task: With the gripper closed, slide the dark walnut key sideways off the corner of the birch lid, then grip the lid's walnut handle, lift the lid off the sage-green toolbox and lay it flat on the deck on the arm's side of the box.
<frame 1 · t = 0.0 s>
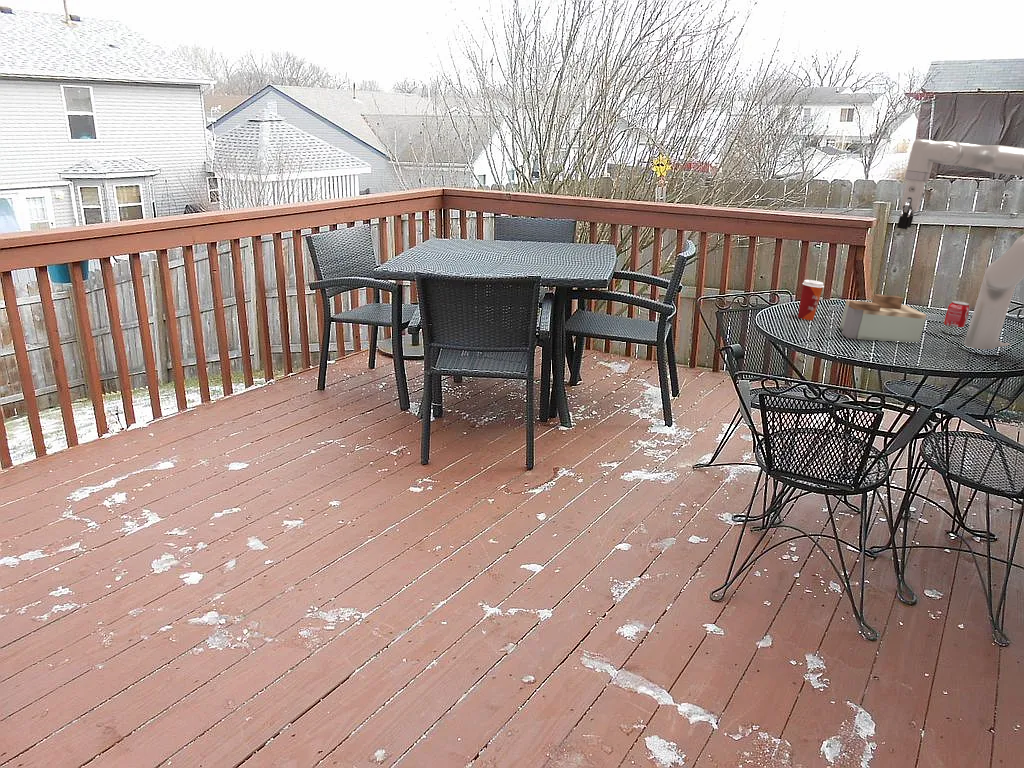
hand: (903, 227, 269), 37 cm above the table, tool pointing down, fingers open, 9 cm apart
toolbox: (878, 336, 273), on the table
soda can: (951, 334, 287), on the table
lid: (884, 311, 270), point 9 cm above the table, touching toolbox
paper cup: (805, 318, 289), on the table
key: (864, 306, 262), point 12 cm above the table, slide at 0.0 cm
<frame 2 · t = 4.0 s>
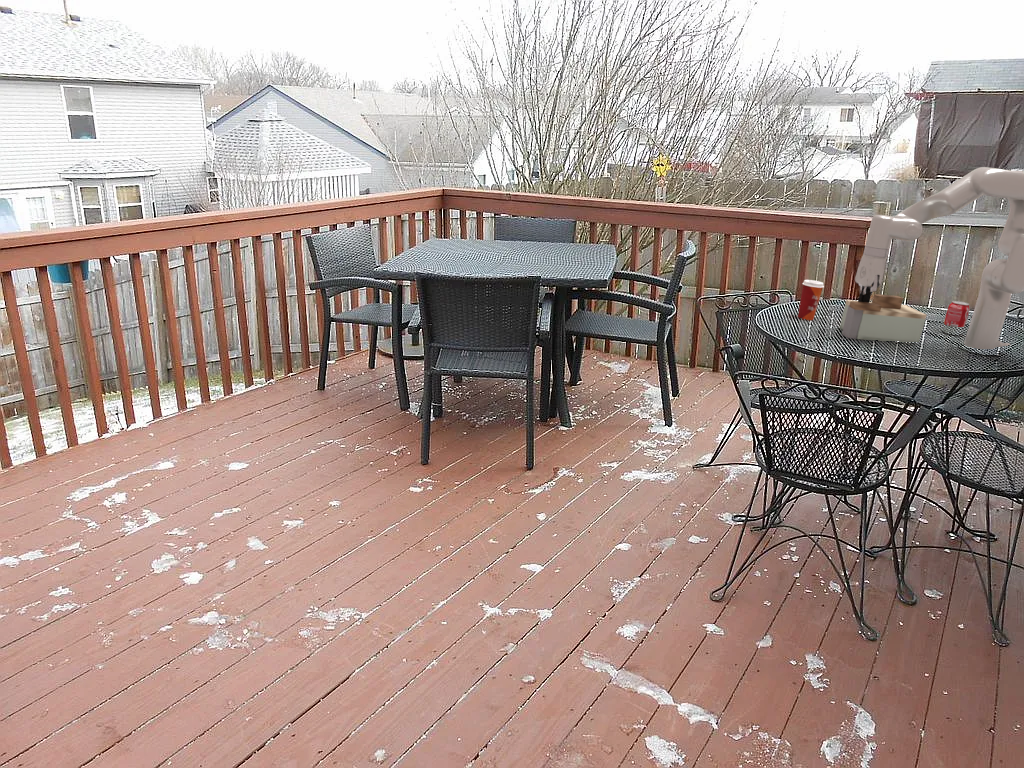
hand: (862, 305, 265), 11 cm above the table, tool pointing down, fingers closed
key: (865, 306, 262), point 12 cm above the table, slide at 0.5 cm, touching gripper
everything else where it was.
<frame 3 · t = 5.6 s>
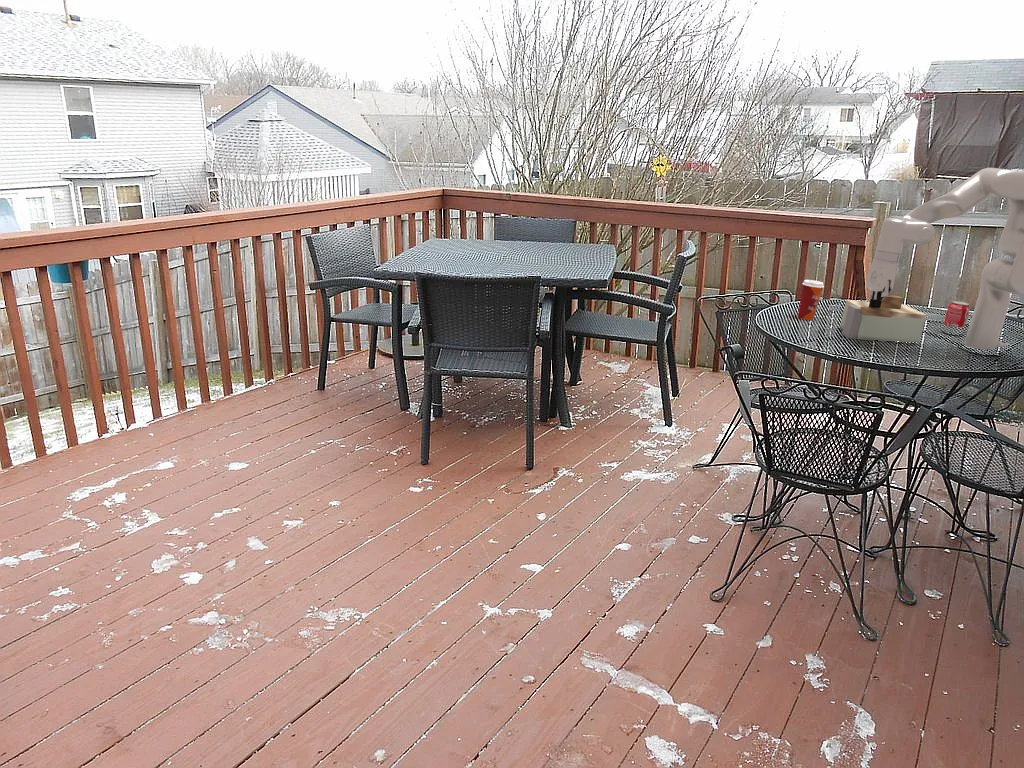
hand: (873, 311, 258), 11 cm above the table, tool pointing down, fingers closed
key: (876, 311, 254), point 12 cm above the table, slide at 8.2 cm, touching gripper
everything else where it was.
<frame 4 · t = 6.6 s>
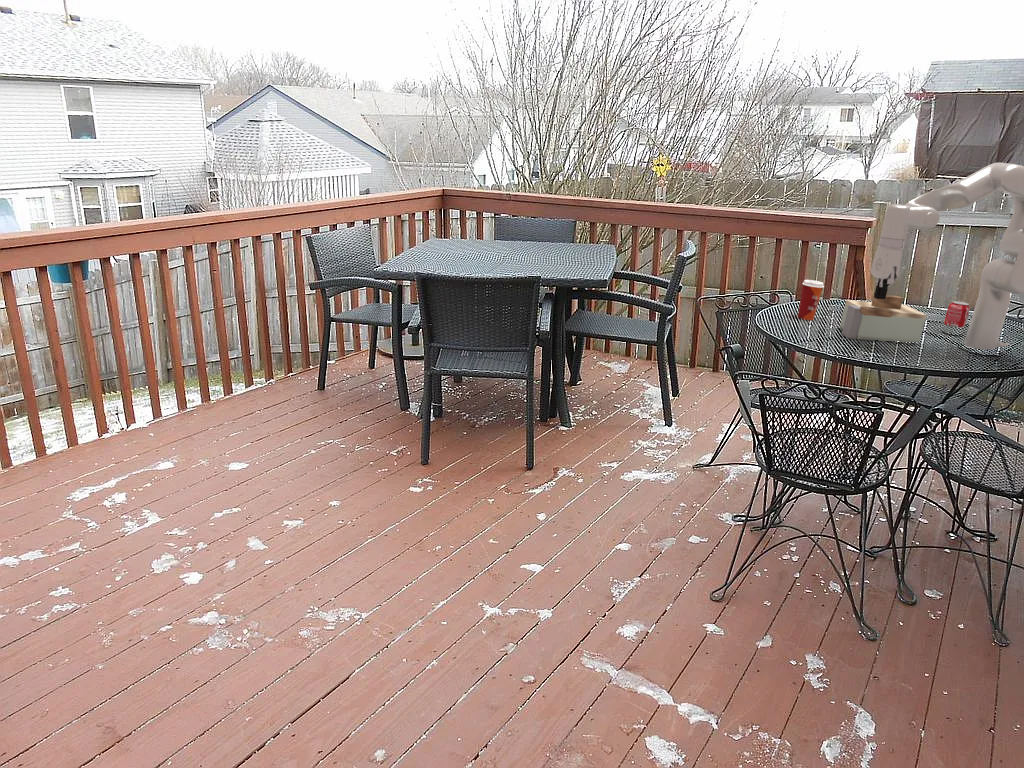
hand: (879, 298, 256), 16 cm above the table, tool pointing down, fingers closed
key: (875, 311, 255), point 12 cm above the table, slide at 8.1 cm
everything else where it was.
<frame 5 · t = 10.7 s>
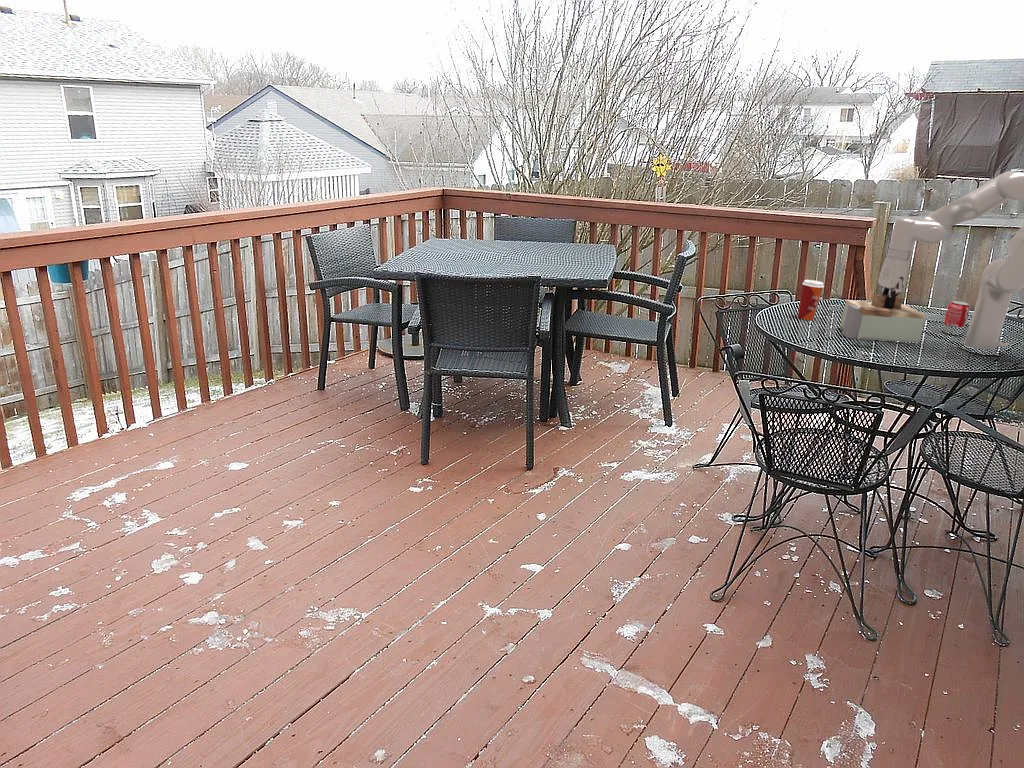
hand: (885, 306, 269), 11 cm above the table, tool pointing down, fingers closed on lid, 3 cm apart
lid: (884, 311, 270), point 9 cm above the table, touching gripper, toolbox
everything else where it was.
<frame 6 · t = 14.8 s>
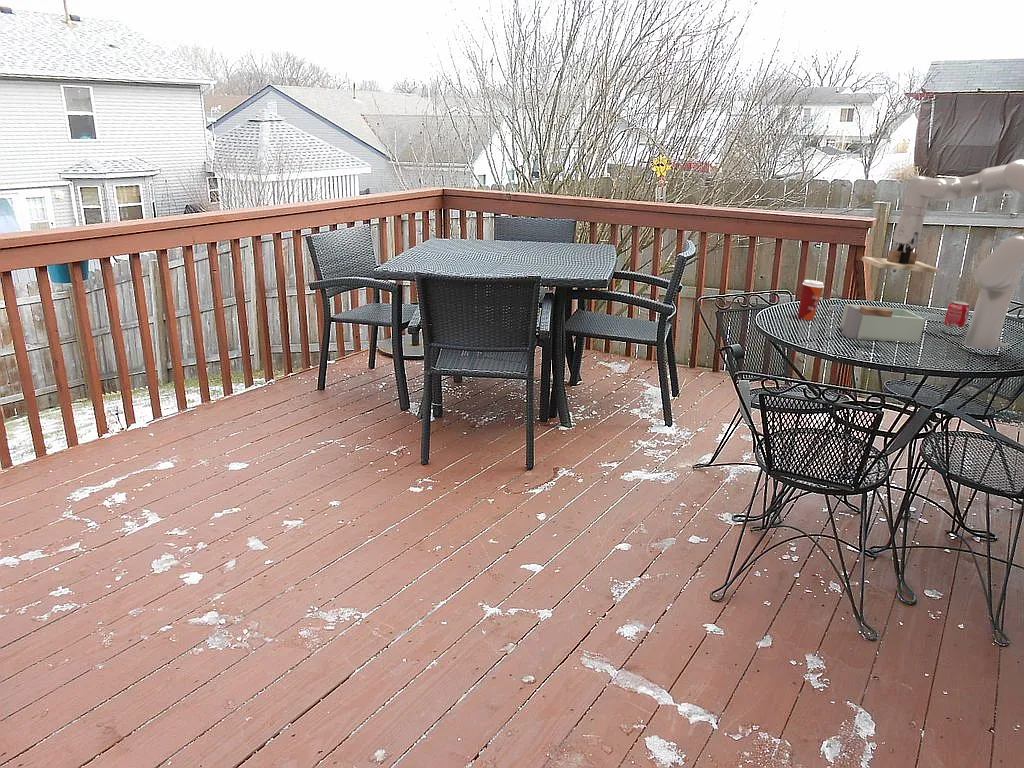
hand: (900, 262, 282), 24 cm above the table, tool pointing down, fingers closed on lid, 3 cm apart
lid: (899, 266, 283), point 22 cm above the table, touching gripper
everything else where it was.
when the fingers open (3 cm above the table, at t = 18.7 s): lid drops 2 cm, on the table.
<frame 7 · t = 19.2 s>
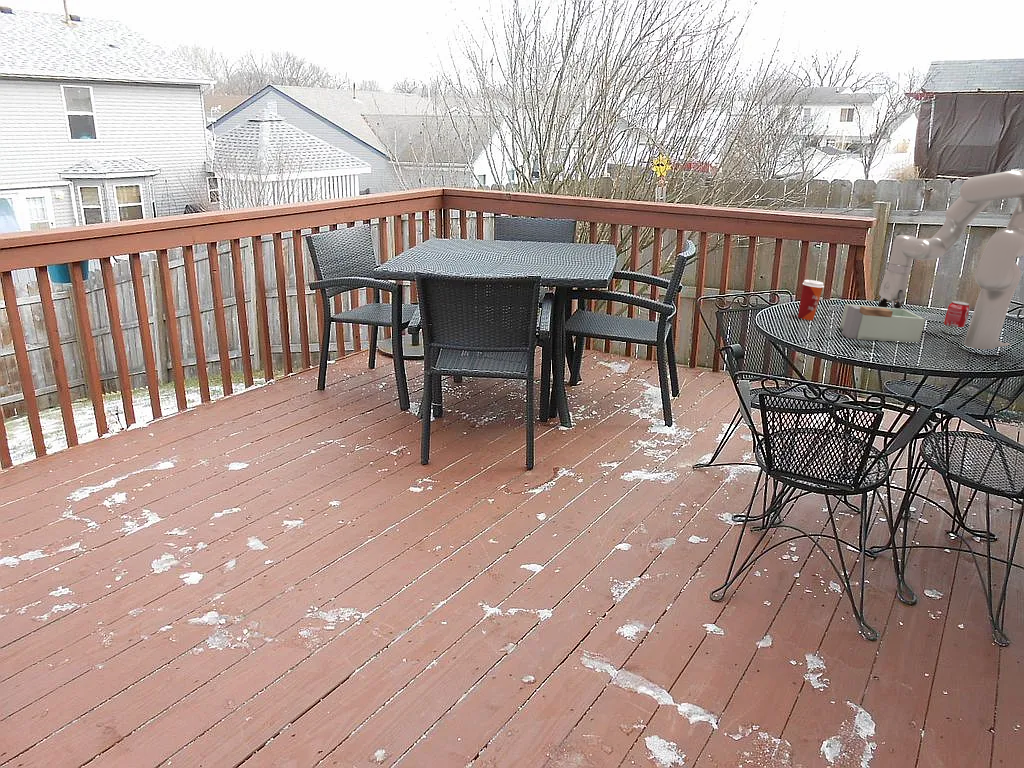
hand: (886, 315, 289), 4 cm above the table, tool pointing down, fingers open, 8 cm apart
lid: (883, 327, 290), on the table
everything else where it was.
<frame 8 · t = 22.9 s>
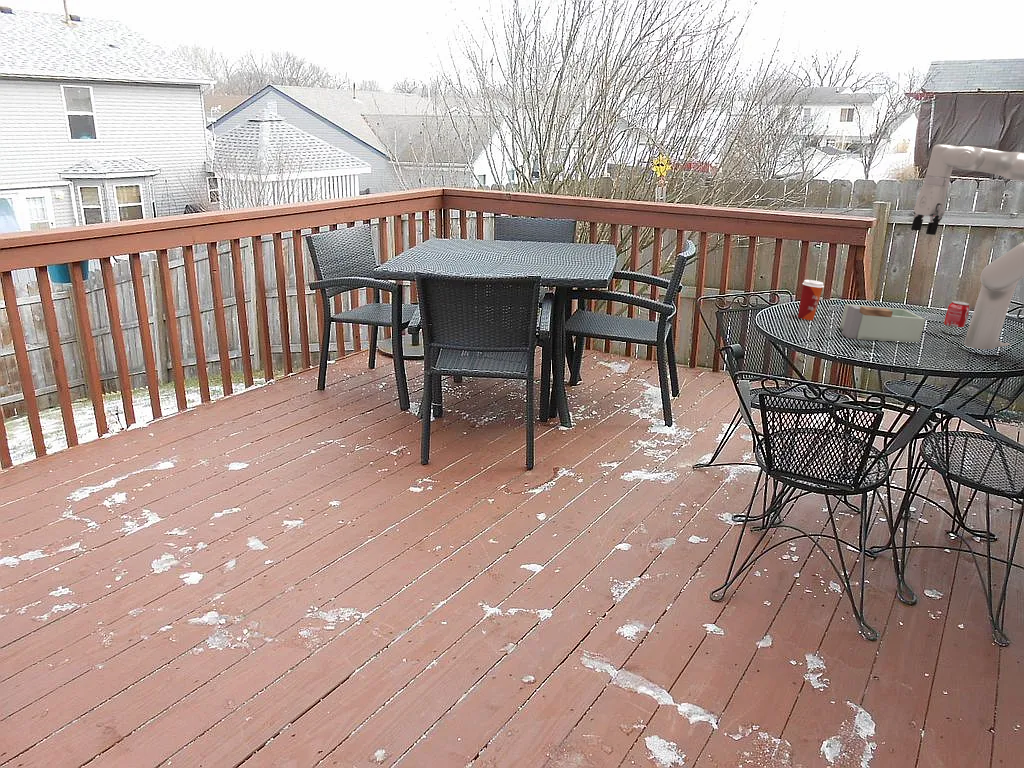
hand: (922, 232, 269), 36 cm above the table, tool pointing down, fingers open, 9 cm apart
nothing on the table moved.
at the end: key slide at 8.1 cm; lid inside the target area (0.1 cm from its centre), on the table; lid tilted 0° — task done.
